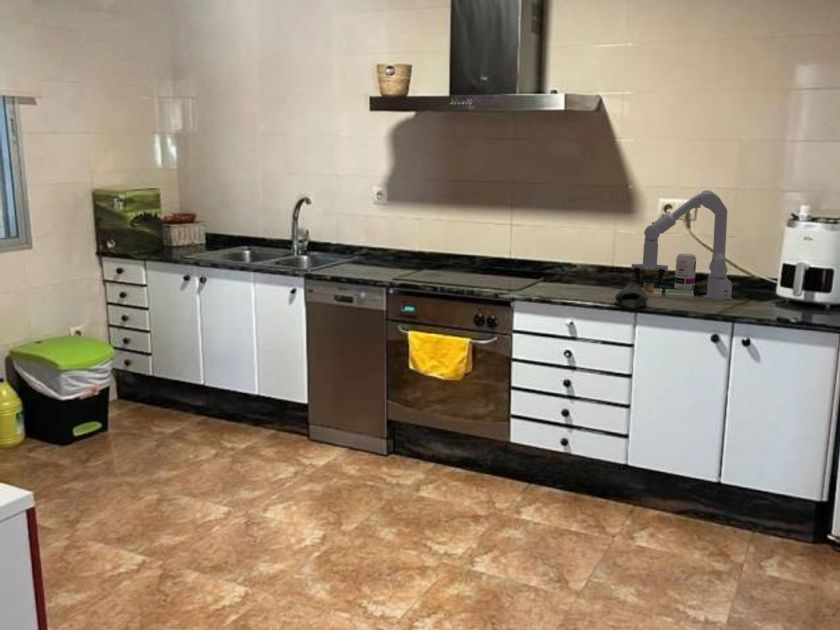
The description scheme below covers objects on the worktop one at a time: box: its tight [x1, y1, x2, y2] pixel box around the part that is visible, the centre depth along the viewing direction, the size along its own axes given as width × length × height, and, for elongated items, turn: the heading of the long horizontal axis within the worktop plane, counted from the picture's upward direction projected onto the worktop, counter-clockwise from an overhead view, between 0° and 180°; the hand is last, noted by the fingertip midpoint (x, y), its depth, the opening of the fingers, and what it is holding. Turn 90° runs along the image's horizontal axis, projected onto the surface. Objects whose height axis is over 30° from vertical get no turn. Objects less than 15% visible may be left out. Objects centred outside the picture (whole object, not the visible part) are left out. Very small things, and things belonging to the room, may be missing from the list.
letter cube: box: [642, 282, 655, 293], centre depth 344 cm, size 4×4×4 cm
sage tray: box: [665, 288, 695, 300], centre depth 341 cm, size 11×11×2 cm
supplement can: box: [674, 253, 697, 291], centre depth 354 cm, size 8×8×15 cm
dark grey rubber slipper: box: [614, 282, 649, 309], centre depth 330 cm, size 13×7×25 cm
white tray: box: [641, 287, 663, 298], centre depth 344 cm, size 11×11×2 cm
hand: (648, 286), depth 344 cm, fingers open, 7 cm apart
